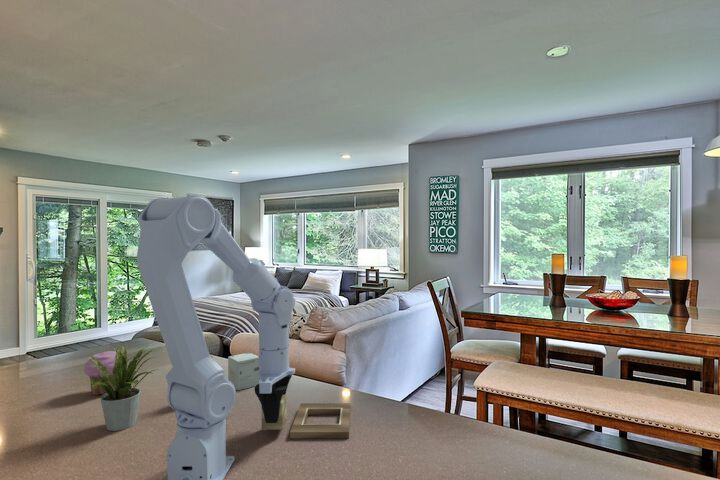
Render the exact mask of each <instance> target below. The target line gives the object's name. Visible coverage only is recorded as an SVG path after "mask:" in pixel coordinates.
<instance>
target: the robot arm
mask: <svg viewBox="0 0 720 480" xmlns="http://www.w3.org/2000/svg"><path fill="white" fill-rule="evenodd" d="M137 222H138V225H139V228H140V232H139V239H138V244H137V245H138V246H137V252H136V263H137V267H138V271H139V273H140V276H141V279H142V282H143V285H144V287H145V290H146V294H147V296H148V299H149V302H150V306H151V308H152V311H153V313H154V316H155V320H156V322H157V325H158V330H159V332H160V334H161V337H162V340H163V343H164V347H165V348H166V351H167V355H168V358H169V360H170V364H171V366H172V367H171V369H169V371H168V372H167V373H166V375H165V378H166V381H167V393H166V394H167V395H166V400H167V403H168V406H169V407H170V408H172V410H175V411H174V412H175V413H174V414H175V416H174V417H175V418H176V432H175V433H176V434H175V436H174V438H173V440H172V442H171V443H170V445H169V446H168V448H167V449H168V450H167V452H166V453H167V454H166V464H167V465H166V469H167V472H166V473H167V475H166V477H167V480H224V479H225V477H226V475H227V473H228V472H229V470H230V468H231V467H232V465H233V463H234V461H235V459H236V457H235V456H233V455H228V456H227V433H226V432H227V427H226V425H227V423H226V421H227V420H226V419H228V418H229V415H230V413H231V411H232V410H233V408H234V405H235V403H236V399H237V398H236V396H237V392H236V389H235V387H234V385H233V384H232V382H230V381H229V380H228V376H226V372H225V370H224V368H222V366H220V364H219V363H217V361H215V359H212V358H211V357H210V352H209V349H208V345H207V343H206V342H207V341H206V339H205V336H204V333H203V329H202V325H201V323H200V320H199V316H198V313H197V310H196V308H195V307H196V306H195V302H194V300H193V297H192V293H191V291H190V288H189V284H188V281H187V278H186V275H185V272H184V268H183V262H184V260H185V258H186V257H187V255H188V254H189V253H190V252H191V251H192V250H193V249H194V248H195V247H196V246H197V245H198V244H203V245H204V246H205V247H207V248H208V249H209V250H210V252H211V253H213V254H214V255H215V256H216V257H218V259H220V261H222V262H223V263H224V264H225V265H226V266H227V267H228V268H229V269H230V270H231V271H232V280H233V282H234V283H235V284H236V285H237V287H239V288H240V290H242V291H243V292H244V293H245V294H246V295H247V296H248V297H249V299H250V303H251V307H252V310H253V311H255V312H257V313H258V357H259V370H258V376H259V384H257V385H256V386H254V394H255V395H256V396H257V398H258V401H259V402H260V406H261V405H262V409H263V413H264V418H265V421H266V423H277V421H278V417H279V411H280V404H281V399H282V395H287V391H288V387H289V386H288V385H289V383H290V381H291V379H292V377H293V375H294V374H295V373H296V368H295V367H290V354H289V353H290V331H289V330H290V328H289V327H290V326H289V325H290V323H291V321H292V313H293V310H294V308H295V307H296V306H295V305H296V298H295V297H294V294H293V292H292V290H290V288H289V287H287V285H281V284H280V283H279V280H278V279H277V278H276V277H275V276H273V275H272V273H271V272H269V270H268V268H267V267H265V265H266V263H265V262H264V261H263V260H262V259H258V258H256V257H255V258H254V257H251V258H250V257H248V256H247V254H246V253H245V252H244V250H243V249H242V248H241V246H240V245H239V244H238V242H237V241H236V240H235V239H234V237H233V235H232V234H231V233H230V232H229V230H228V229H227V227H226V226H225V225H224V224H223V222H222V216H221V213H220V211H219V210H218V209H216V208H215V207H214V205H213V203H212V202H211V201H210V200H209V199H208V198H207V197H205V196H204V195H202V194H189V195H186V196H176V197H168V198H167V197H166V198H165V197H159V198H155V199H153V200H151V201H149V202H148V203H147V205H145V207H144V208H143V210H142V211H141V213H140V214H139V215H138V217H137Z"/></svg>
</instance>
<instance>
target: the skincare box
mask: <svg viewBox="0 0 720 480" xmlns="http://www.w3.org/2000/svg"><path fill="white" fill-rule="evenodd" d="M227 366H228V367H227V368H228V369H227V370H228V371H227V373H228V374H227V375H228V376H227V379H228V380H229V381H230V382H232V384H233V385H234V387H235V390H237V391H242V390H245V389H248V388H253V387H254V388H255V386H256V385H257V384H259V383H260V380H259V376H258V370H259V355H258V354H257V355H256V354H253V353H252V352H245V353H238V354H235V355H230V356H228V357H227Z"/></svg>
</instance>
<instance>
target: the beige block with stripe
mask: <svg viewBox="0 0 720 480" xmlns="http://www.w3.org/2000/svg"><path fill="white" fill-rule="evenodd" d="M287 400H288V399H287V394H286V395H282V399H281V404H280V411H279V417H278V421H277V423H266V421H265V418H264V413H263V409H262V405H261V404H260V406H261V412H260V413H261V415H260V416H261V430H283V429H284V427H285V425H286V423H287V419H288V418H287V416H288V415H287V414H288V413H287V412H288V411H287V409H288V408H287V403H288V402H287Z"/></svg>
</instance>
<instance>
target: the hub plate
mask: <svg viewBox="0 0 720 480" xmlns="http://www.w3.org/2000/svg"><path fill="white" fill-rule="evenodd" d="M351 411H352V403H351V402H333V403H332V402H330V403H329V402H327V403H326V402H324V403H323V402H322V403H320V402H319V403H316V402H315V403H311V402H310V403H309V402H308V403H302V402H301V403H300V405H299V407H298V410H297V412H296V415H295V417H294V421H293V423H292V426H291V429H290V430H289V438H290V439H350V428H351ZM318 415H319V416H323V415H324V416H328V415H329V416H331V415H332V416H333V415H337V416H338V415H339V422H338V423H306V422H307V421H308V417H309V416H318Z"/></svg>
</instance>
